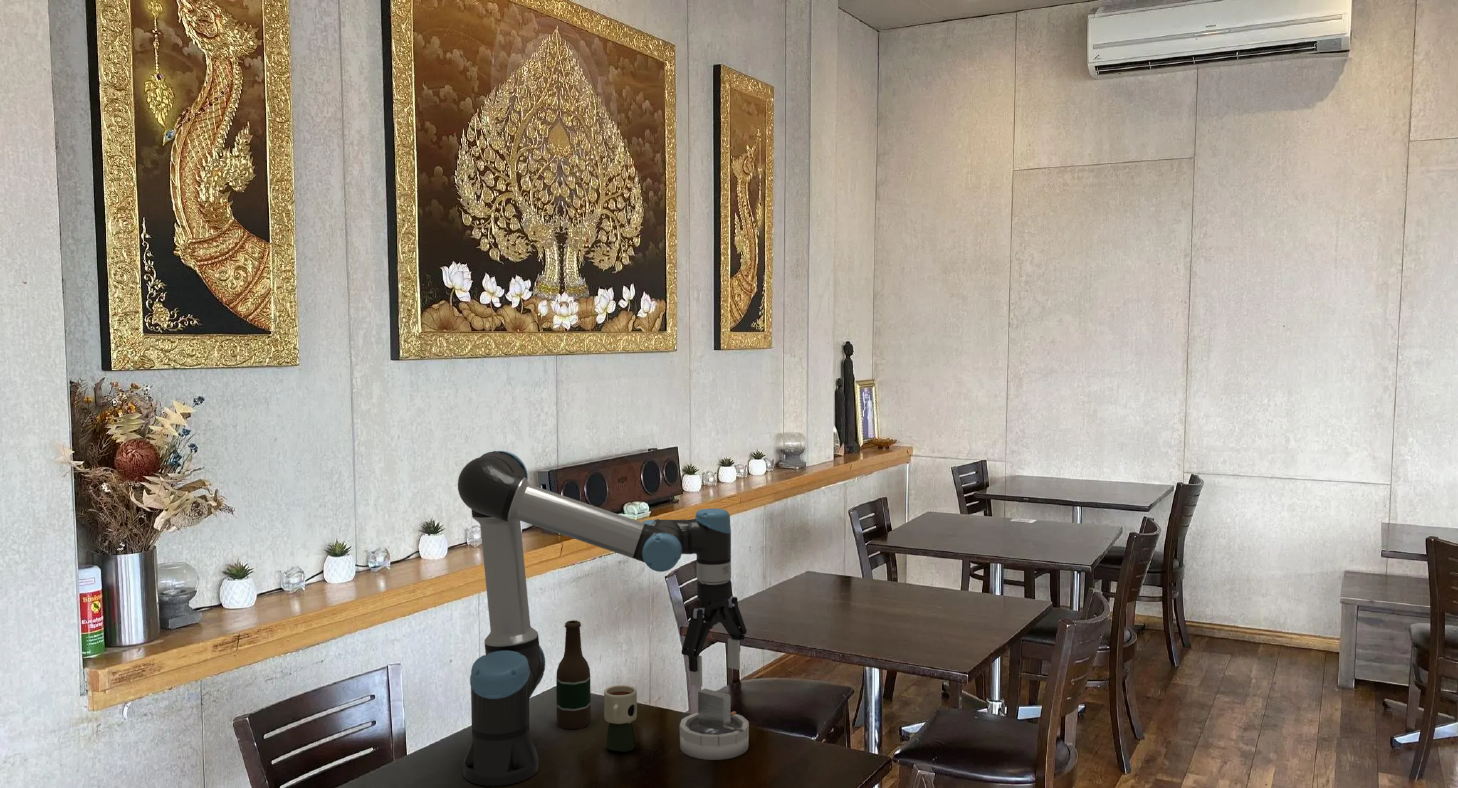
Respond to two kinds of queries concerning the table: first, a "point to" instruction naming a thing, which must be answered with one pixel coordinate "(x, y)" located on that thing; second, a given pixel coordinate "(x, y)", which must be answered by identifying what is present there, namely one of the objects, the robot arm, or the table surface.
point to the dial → (713, 714)
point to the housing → (714, 740)
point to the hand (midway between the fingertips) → (715, 676)
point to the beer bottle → (573, 682)
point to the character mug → (620, 716)
